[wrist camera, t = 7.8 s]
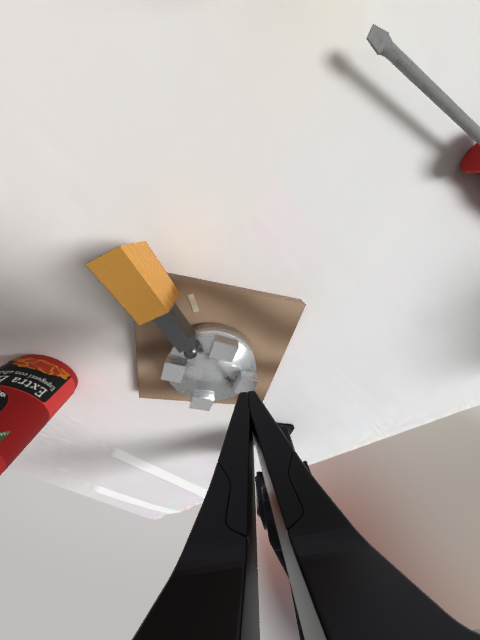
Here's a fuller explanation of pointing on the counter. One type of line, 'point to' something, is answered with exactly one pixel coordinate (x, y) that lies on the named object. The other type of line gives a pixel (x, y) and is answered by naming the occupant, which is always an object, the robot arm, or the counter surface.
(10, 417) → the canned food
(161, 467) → the counter surface
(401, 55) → the screwdriver
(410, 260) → the counter surface
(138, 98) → the counter surface
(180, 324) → the silver tabbed disc tool
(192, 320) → the board
